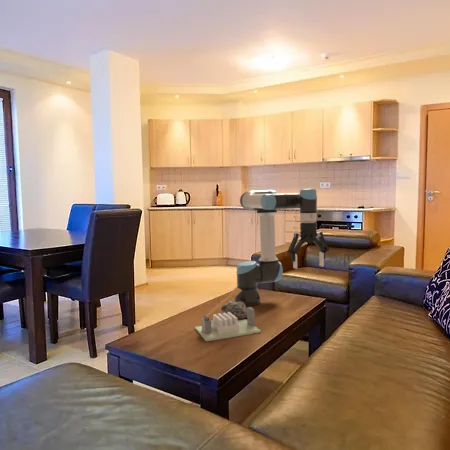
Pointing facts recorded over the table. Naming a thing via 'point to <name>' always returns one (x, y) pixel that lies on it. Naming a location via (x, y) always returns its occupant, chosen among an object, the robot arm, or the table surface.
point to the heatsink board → (231, 334)
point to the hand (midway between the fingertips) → (308, 267)
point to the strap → (223, 303)
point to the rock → (235, 309)
